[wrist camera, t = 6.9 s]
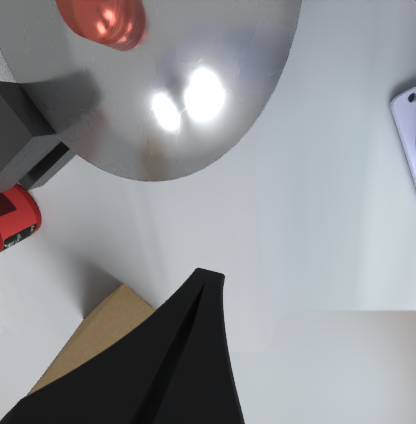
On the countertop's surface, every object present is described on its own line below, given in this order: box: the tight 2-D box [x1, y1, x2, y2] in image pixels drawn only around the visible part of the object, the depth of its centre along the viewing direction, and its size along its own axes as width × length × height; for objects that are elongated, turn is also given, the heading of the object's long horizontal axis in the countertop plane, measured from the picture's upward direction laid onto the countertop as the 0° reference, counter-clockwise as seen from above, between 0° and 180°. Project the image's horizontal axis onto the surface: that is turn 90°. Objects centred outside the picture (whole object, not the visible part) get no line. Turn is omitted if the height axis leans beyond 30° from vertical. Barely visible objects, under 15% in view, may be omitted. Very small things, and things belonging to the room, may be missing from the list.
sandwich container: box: [27, 284, 156, 395], centre depth 27 cm, size 9×15×15 cm, turn 138°
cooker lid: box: [0, 0, 302, 193], centre depth 10 cm, size 23×15×3 cm, turn 121°
